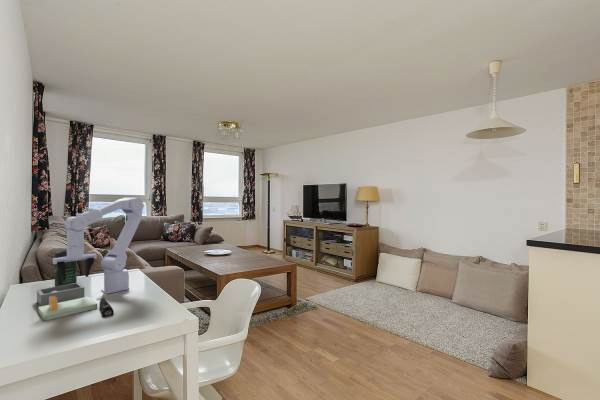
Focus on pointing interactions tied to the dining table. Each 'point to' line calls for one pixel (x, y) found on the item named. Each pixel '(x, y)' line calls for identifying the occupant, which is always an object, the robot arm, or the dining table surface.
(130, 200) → the robot arm
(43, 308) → the lid
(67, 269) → the coffee jar
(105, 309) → the electric trimmer
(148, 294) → the dining table surface
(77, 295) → the tub
